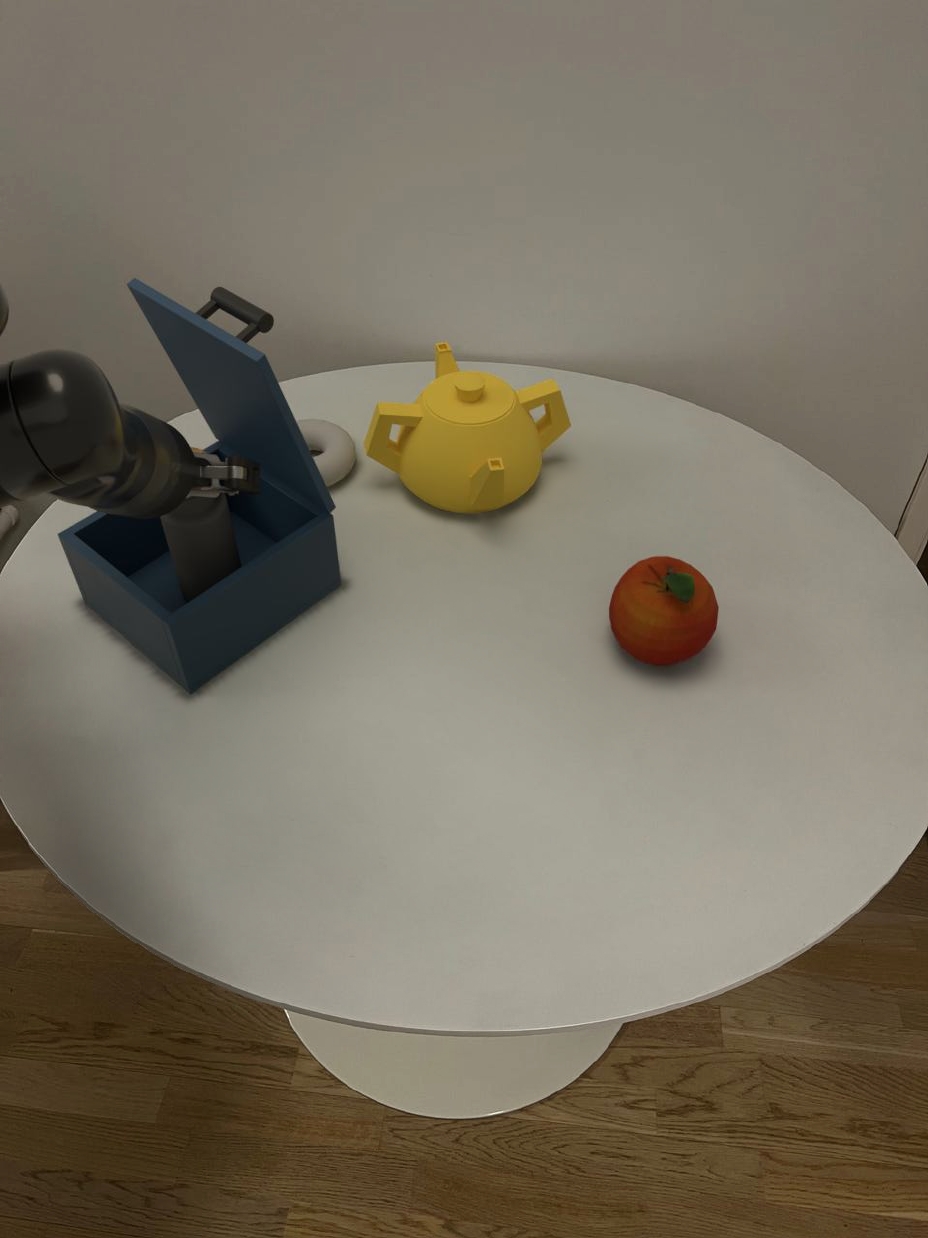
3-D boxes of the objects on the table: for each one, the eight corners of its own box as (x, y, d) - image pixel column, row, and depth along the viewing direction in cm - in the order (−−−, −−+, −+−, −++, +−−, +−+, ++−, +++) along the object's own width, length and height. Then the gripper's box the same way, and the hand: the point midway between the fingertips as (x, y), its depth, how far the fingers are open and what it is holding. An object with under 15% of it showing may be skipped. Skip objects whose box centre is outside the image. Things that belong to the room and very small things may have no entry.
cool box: (190, 694, 87) (169, 626, 81) (84, 604, 94) (56, 533, 88) (341, 585, 96) (333, 515, 90) (234, 509, 104) (219, 439, 97)
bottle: (243, 610, 93) (214, 485, 82) (179, 612, 92) (141, 488, 81) (247, 565, 97) (221, 440, 86) (186, 567, 96) (151, 442, 85)
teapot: (358, 489, 106) (350, 394, 97) (442, 408, 115) (441, 315, 106) (497, 547, 100) (501, 452, 91) (572, 457, 110) (583, 363, 101)
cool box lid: (256, 361, 73) (306, 316, 75) (126, 283, 80) (174, 244, 82) (329, 514, 89) (369, 474, 91) (215, 438, 96) (254, 402, 98)
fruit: (686, 597, 96) (705, 519, 88) (724, 673, 90) (749, 596, 82) (590, 612, 94) (601, 534, 87) (622, 691, 88) (637, 614, 81)
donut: (291, 510, 104) (374, 473, 107) (287, 484, 101) (372, 448, 105) (248, 459, 109) (329, 426, 113) (243, 433, 107) (325, 400, 110)
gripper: (227, 410, 70) (272, 440, 86) (24, 406, 70) (106, 436, 86) (226, 518, 71) (271, 527, 87) (24, 513, 71) (106, 523, 87)
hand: (188, 482), depth 87 cm, fingers open, 8 cm apart
